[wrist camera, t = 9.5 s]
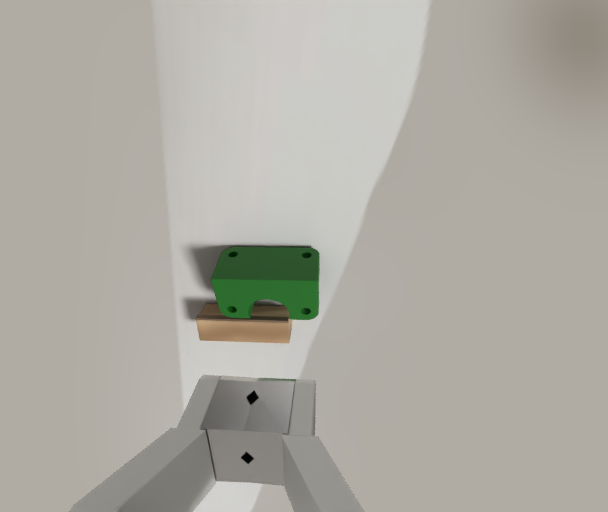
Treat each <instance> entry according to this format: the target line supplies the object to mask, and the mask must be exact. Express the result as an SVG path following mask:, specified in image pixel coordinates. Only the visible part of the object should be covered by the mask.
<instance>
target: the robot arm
mask: <svg viewBox="0 0 608 512" xmlns="http://www.w3.org/2000/svg"><path fill="white" fill-rule="evenodd" d="M315 406H316V382H315V380H300V379H273V378H247V377H233V376H214V375H203V376H202V377H201V378H200V379H199V381H198V383H197V385H196V388H195V390H194V392H193V394H192V396H191V398H190V401H189V403H188V405H187V407H186V409H185V411H184V414H183V416H182V418H181V420H180V422H179V425H178V427H177V428H170V429H169V430H168V431H167V432H165V433H164V434H163V435H161V436H160V437H159V438H158V439H156V440H155V441H154V442H153V443H151V444H150V445H149V446H148V447H147V448H145V449H144V450H143V451H141V452H140V453H139V454H137V455H136V456H135V457H134V458H132V459H131V460H130V461H129V462H127V463H126V464H125V465H124V466H122V467H121V468H120V469H119V470H117V471H116V472H115V473H113V474H112V475H111V476H110V477H108V478H107V479H106V480H105V481H103V482H102V483H101V484H100V485H98V486H97V487H96V488H95V489H93V490H92V491H91V492H90V493H88V494H87V495H86V496H84V497H83V498H82V499H81V500H79V501H78V502H77V503H76V504H74V505H73V507H72V508H71V510H70V511H69V512H193V511H194V509H195V508H196V507H197V506H198V505H199V503H200V502H201V501H202V500H203V498H204V497H205V496H206V495H207V494H208V492H209V491H210V490H211V489H212V488H213V486H214V485H215V484H216V481H228V482H252V483H262V484H272V485H282V486H285V489H286V492H287V495H288V497H289V500H290V502H291V505H292V507H293V510H294V512H364V510H363V509H362V507H361V505H360V504H359V502H358V500H357V499H356V497H355V496H354V494H353V492H352V491H351V489H350V487H349V486H348V484H347V482H346V481H345V479H344V477H343V476H342V474H341V473H340V471H339V469H338V468H337V466H336V464H335V463H334V461H333V460H332V458H331V456H330V455H329V453H328V451H327V450H326V448H325V447H324V445H323V443H322V442H321V440H320V438H319V437H317V436H315Z"/></svg>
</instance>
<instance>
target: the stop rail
mask: <svg viewBox="0 0 608 512" xmlns="http://www.w3.org/2000/svg"><path fill="white" fill-rule="evenodd" d="M289 316H290V313H289V310H288V309H287V307H286V306H264V305H253V309H252V313H251V317H250V318H230V317H227V316H225V315H223V314H222V313H221V312H220V310H219V306H218V304H206V305H205V306H204V308H203V310H202V311H201V313H200V314H198V316H197V317H196V321H197V327H198V332H199V338H200V340H206V341H235V342H264V343H289V341H290V335H291V330H292V319H289Z"/></svg>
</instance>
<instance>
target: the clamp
mask: <svg viewBox="0 0 608 512" xmlns="http://www.w3.org/2000/svg"><path fill="white" fill-rule="evenodd" d="M211 281H212V285H213V288H214V292H215V296H216V299H217V303H218V306H219V310H220V312H221V313H222V314H223V315H225V316H227V317H230V318H250V317H251V313H252V309H253V305H254V302H255V301H258V300H262V299H270V300H275V301H278V302H280V303H282V304H283V305H284V306H286V307H287V309H288V310H289V313H290V316H289V319H296V320H310V319H313V318H315V317H316V316H317V315H318V310H319V252H318V251H317V250H315V249H313V248H301V247H231V248H228V249H226V250H224V251H223V252H222V253H221V256H220V258H219V260H218V263H217V265H216V268H215V270H214V273H213V275H212V278H211Z"/></svg>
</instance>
